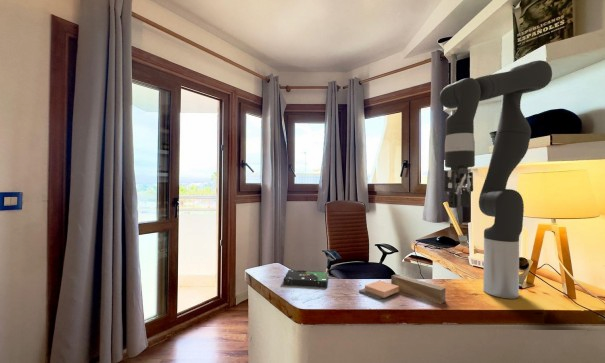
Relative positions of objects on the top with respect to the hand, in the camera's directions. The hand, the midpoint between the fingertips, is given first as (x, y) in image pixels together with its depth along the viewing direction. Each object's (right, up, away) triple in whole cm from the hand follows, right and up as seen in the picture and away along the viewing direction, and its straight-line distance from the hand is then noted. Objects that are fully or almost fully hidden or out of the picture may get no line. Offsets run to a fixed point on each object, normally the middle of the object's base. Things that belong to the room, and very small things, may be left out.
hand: (459, 207), depth 81 cm
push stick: (-9, -28, +7) cm, 30 cm away
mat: (-21, -28, +8) cm, 36 cm away
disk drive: (-44, -28, +17) cm, 55 cm away
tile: (-18, -26, +5) cm, 32 cm away
